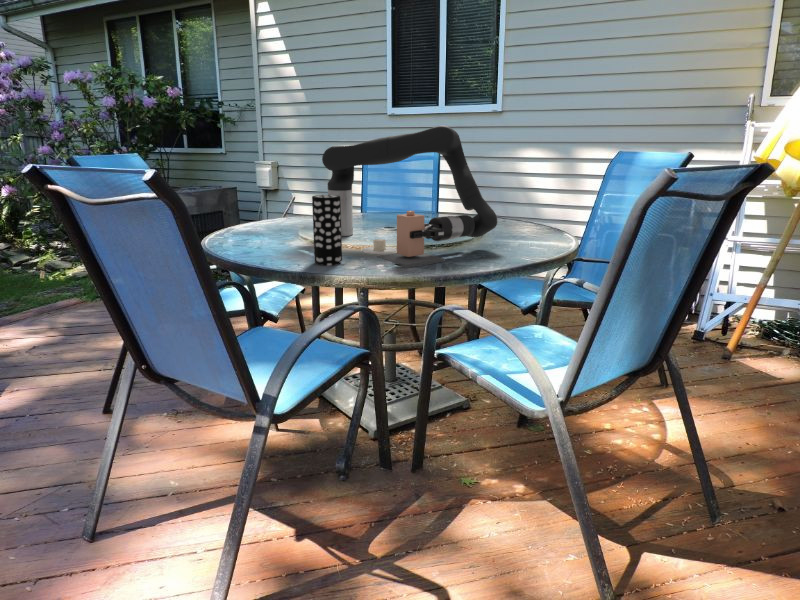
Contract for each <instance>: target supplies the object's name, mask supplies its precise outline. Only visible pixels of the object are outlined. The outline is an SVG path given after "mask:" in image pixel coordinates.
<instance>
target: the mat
mask: <svg viewBox="0 0 800 600" xmlns="http://www.w3.org/2000/svg"><path fill="white" fill-rule="evenodd" d="M376 257H377V258H380V259H383V260H386V261H390V262H393V263H394V265H395V266H398V267H401V268H404V269H408V268H413V267H420V266H426V265H432V264H439V263H445V258H443V257H440V256H436V255H432V254H429V253H426V252H424V254H423V255H417V256H411V257H407V256H404V255H400V254H397V252H394V253H387V254H379V255H377V256H376Z"/></svg>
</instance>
